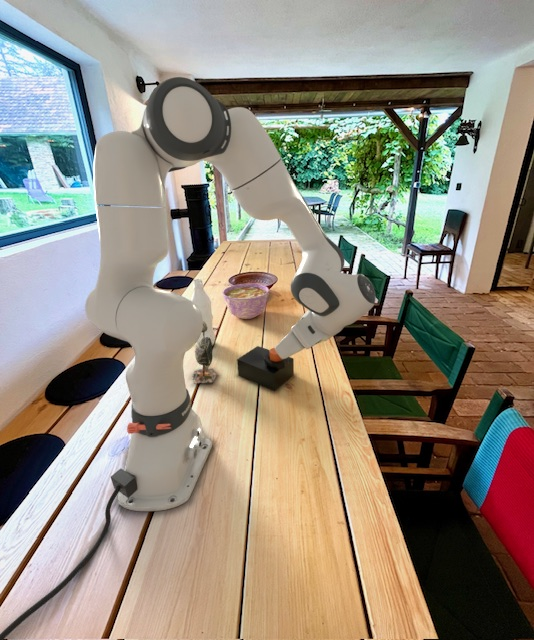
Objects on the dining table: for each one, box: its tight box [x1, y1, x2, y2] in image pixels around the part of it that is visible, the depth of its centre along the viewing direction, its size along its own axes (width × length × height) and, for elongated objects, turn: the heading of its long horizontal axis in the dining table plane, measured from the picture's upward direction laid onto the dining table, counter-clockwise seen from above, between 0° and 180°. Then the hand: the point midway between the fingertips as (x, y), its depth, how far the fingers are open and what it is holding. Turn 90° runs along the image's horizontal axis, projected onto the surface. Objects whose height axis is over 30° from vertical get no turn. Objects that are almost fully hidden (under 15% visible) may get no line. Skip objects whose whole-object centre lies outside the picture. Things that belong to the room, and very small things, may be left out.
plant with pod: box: [191, 321, 218, 385], centre depth 97 cm, size 8×11×20 cm
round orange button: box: [269, 347, 283, 362], centre depth 93 cm, size 4×4×2 cm
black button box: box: [236, 345, 295, 392], centre depth 98 cm, size 15×10×8 cm
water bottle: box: [190, 278, 216, 347], centre depth 114 cm, size 7×7×25 cm
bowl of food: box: [222, 283, 270, 320], centre depth 140 cm, size 20×20×12 cm
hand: (288, 346), depth 89 cm, fingers closed
